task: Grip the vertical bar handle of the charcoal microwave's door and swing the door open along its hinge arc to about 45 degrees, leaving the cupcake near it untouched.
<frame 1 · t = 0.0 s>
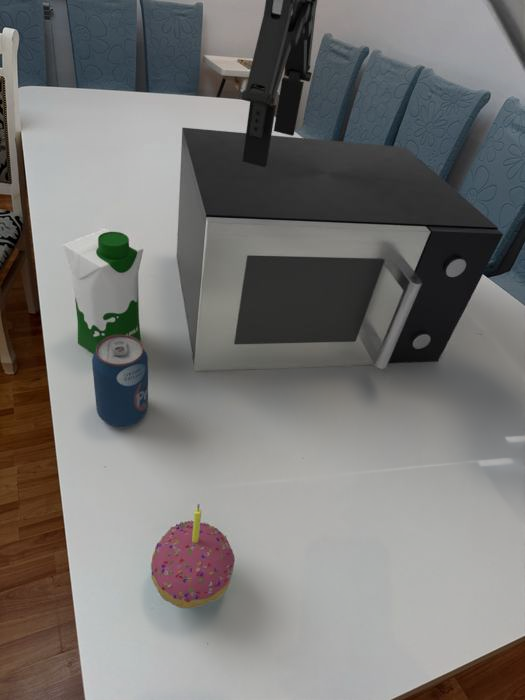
hand: (270, 147, 62), 34 cm above the table, tool pointing down, fingers open, 13 cm apart
soda can: (122, 413, 70), on the table
cupcake: (190, 582, 54), on the table
microwave: (296, 303, 97), on the table
milk carton: (109, 344, 81), on the table
microwave door: (310, 314, 73), point 13 cm above the table, hinge at 0.0°
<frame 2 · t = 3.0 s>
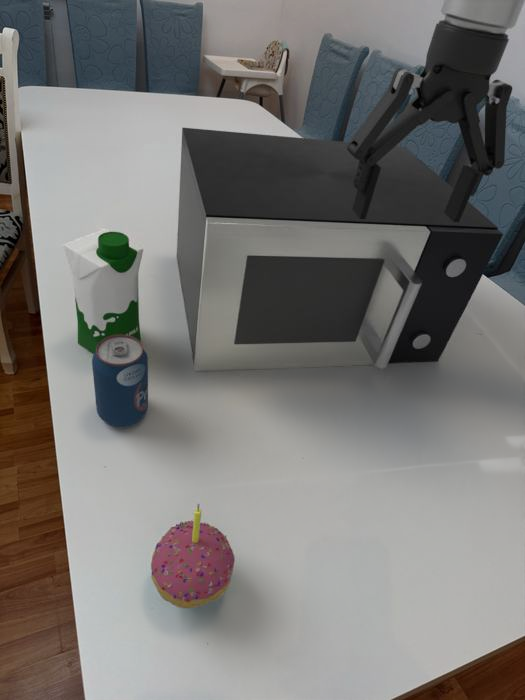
hand: (406, 216, 65), 29 cm above the table, tool pointing down, fingers open, 13 cm apart
nothing on the table moved.
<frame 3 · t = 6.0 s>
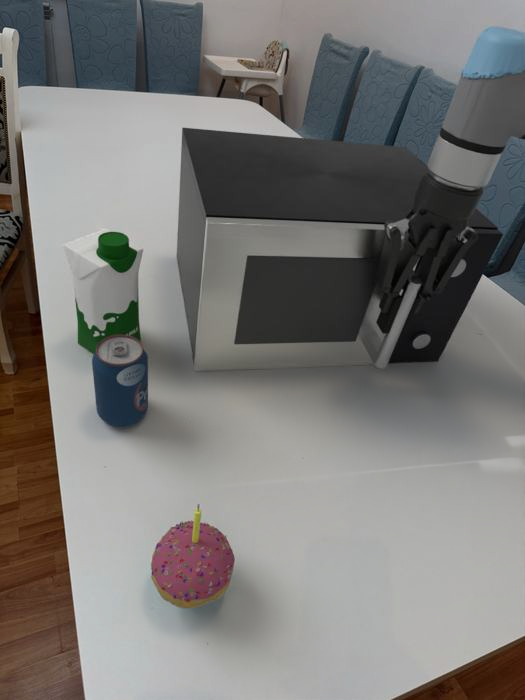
hand: (390, 327, 76), 12 cm above the table, tool pointing down, fingers open, 2 cm apart
microwave door: (310, 314, 73), point 13 cm above the table, hinge at -0.1°, touching gripper
everything else where it was.
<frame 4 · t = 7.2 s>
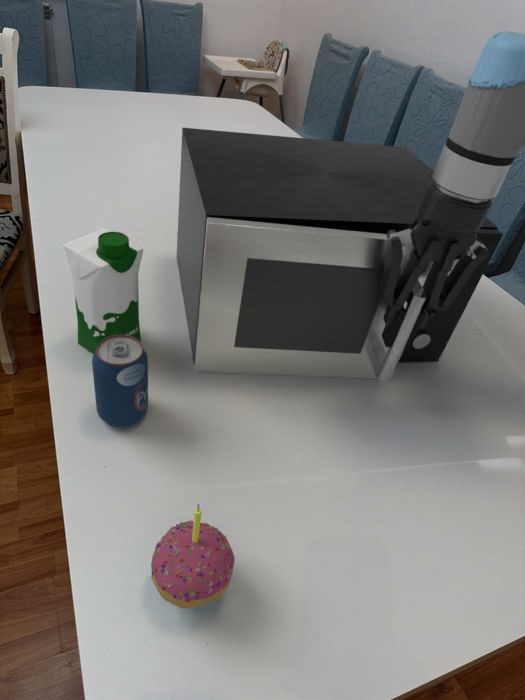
hand: (395, 341, 73), 12 cm above the table, tool pointing down, fingers closed on microwave door, 2 cm apart
microwave door: (310, 322, 71), point 13 cm above the table, hinge at 6.6°, touching gripper
everything else where it was.
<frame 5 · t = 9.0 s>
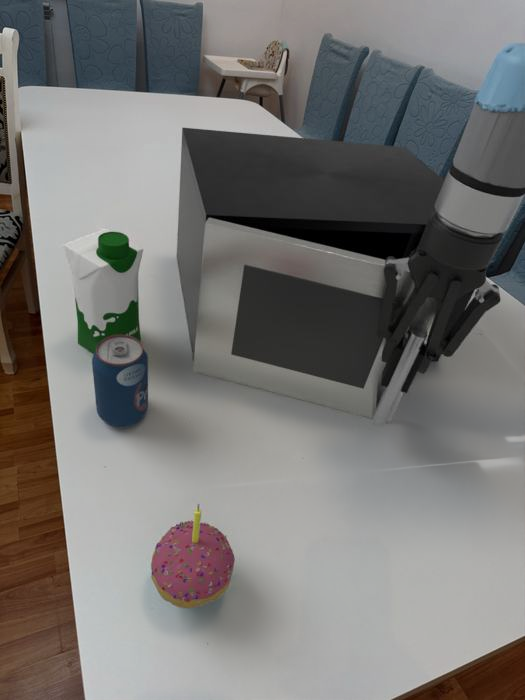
hand: (394, 382, 66), 12 cm above the table, tool pointing down, fingers closed on microwave door, 2 cm apart
microwave door: (304, 342, 67), point 13 cm above the table, hinge at 24.4°, touching gripper
everything else where it was.
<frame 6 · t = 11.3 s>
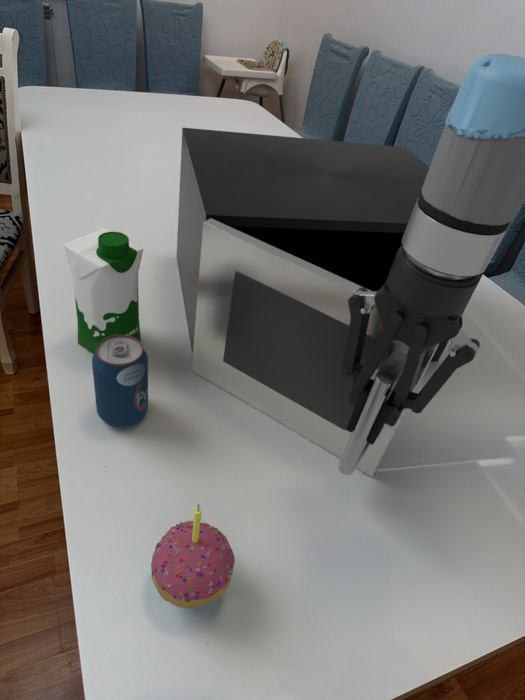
hand: (363, 430, 59), 12 cm above the table, tool pointing down, fingers closed on microwave door, 2 cm apart
microwave door: (282, 364, 63), point 13 cm above the table, hinge at 45.0°, touching gripper
everything else where it was.
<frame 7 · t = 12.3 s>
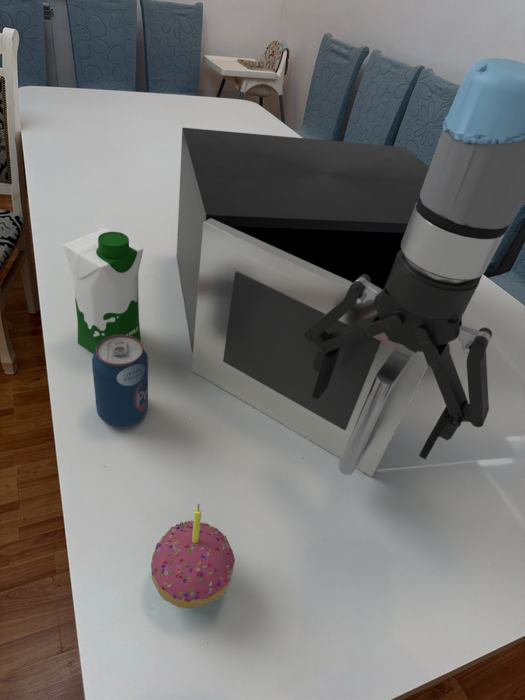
hand: (370, 420, 58), 13 cm above the table, tool pointing down, fingers open, 13 cm apart
microwave door: (282, 364, 63), point 13 cm above the table, hinge at 45.0°
everything else where it was.
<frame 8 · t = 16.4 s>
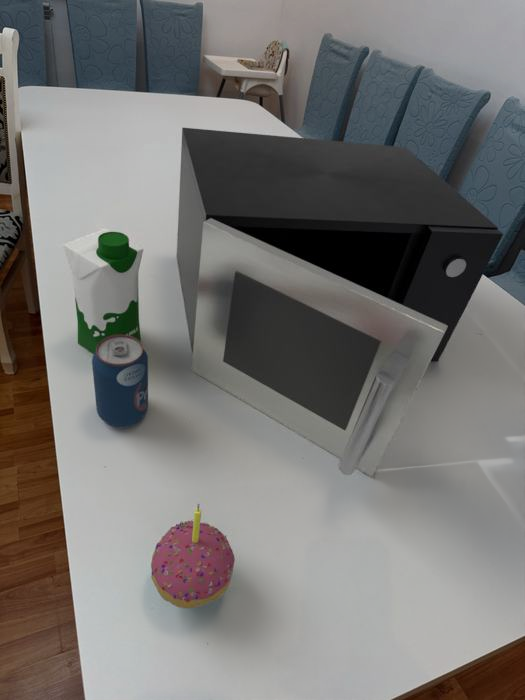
nothing on the table moved.
at the end: microwave door at +45° (first picture: +0°); cupcake moved 0.2 cm from its start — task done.
